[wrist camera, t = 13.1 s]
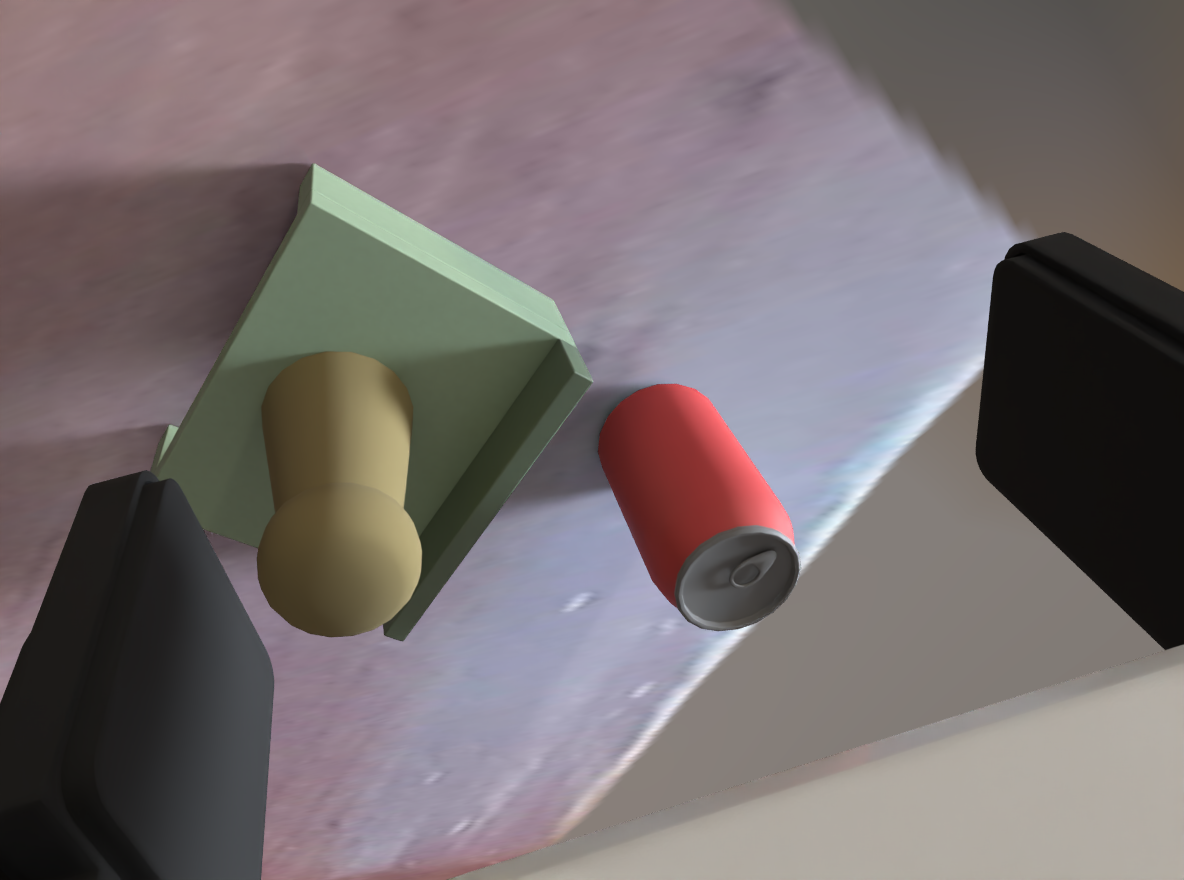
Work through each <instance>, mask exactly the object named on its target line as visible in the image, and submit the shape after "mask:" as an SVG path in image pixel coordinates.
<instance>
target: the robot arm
mask: <svg viewBox="0 0 1184 880" xmlns="http://www.w3.org/2000/svg"><path fill="white" fill-rule="evenodd" d="M976 458H977V462H978V465H979V468H980V470H981V472H982V473H983V475H984V476H985V478H986V479H987V480H988V481H989V482H990V483H991V484H992V485H993V486H994V487H995V488H996V489H997V490H998V491H999V492H1001V493H1002V494H1003V495H1004V496H1005V497H1006V498H1007V499H1008V500H1009V501H1010V502H1011V503H1012V504H1013V505H1014V506H1015V507H1016V508H1017V509H1018V510H1019V511H1020V512H1022V513H1023V514H1024V515H1025V516H1026V517H1027V518H1028V519H1029V520H1030V521H1031V522H1032V523H1033V524H1034V525H1035V526H1036V527H1037V528H1038V529H1039V530H1040V531H1041V532H1043V534H1044V535H1045V536H1047V537H1048V538H1049V539H1050V540H1051V541H1052V542H1053V543H1054V544H1055V545H1056V546H1057V547H1058V548H1059V549H1060V550H1061V551H1062V552H1063V553H1064V554H1065V555H1066V556H1067V557H1069V559H1071V560H1072V561H1073V562H1074V563H1075V564H1076V565H1077V566H1078V567H1079V568H1080V569H1081V570H1082V571H1083V572H1084V573H1086V575H1087V576H1088V577H1089V578H1090V579H1092V581H1094V582H1095V583H1096V584H1097V585H1098V586H1099V587H1100V588H1101V589H1102V590H1103V591H1104V592H1105V593H1106V594H1107V595H1108V596H1109V597H1110V598H1111V599H1112V600H1113V601H1114V602H1115V603H1117V604H1118V605H1119V606H1120V607H1121V608H1122V609H1123V610H1124V611H1125V612H1126V613H1127V614H1128V615H1129V616H1130V617H1131V618H1132V619H1133V620H1134V621H1135V622H1136V623H1137V624H1138V625H1140V626H1141V627H1142V628H1143V629H1144V630H1145V631H1146V632H1147V633H1148V634H1149V635H1150V636H1151V637H1152V638H1153V639H1154V640H1155V641H1156V642H1157V643H1158V644H1159V645H1160V646H1161V647H1163V648H1164V649H1165V650H1164V651H1161V652H1158V653H1155V654H1152V655H1148V656H1145V657H1142V658H1139V659H1136V660H1133V661H1129V662H1126V663H1123V664H1120V665H1116V666H1113V667H1110V668H1107V669H1104V670H1100V671H1097V672H1094V673H1091V674H1088V675H1085V676H1081V677H1078V678H1075V679H1072V680H1068V681H1065V682H1062V683H1059V684H1056V685H1053V686H1049V687H1046V688H1043V689H1040V690H1036V691H1034V692H1030V693H1027V694H1024V695H1021V696H1018V697H1014V698H1011V699H1008V700H1005V701H1002V702H999V703H995V704H992V705H989V706H986V707H983V708H980V709H977V710H973V711H970V712H967V713H964V714H961V715H957V716H954V717H951V718H948V719H945V720H942V721H939V722H936V723H932V724H929V725H926V726H923V727H920V728H917V729H913V730H910V731H907V732H904V733H901V734H898V735H894V736H891V737H888V738H885V739H882V740H879V741H876V742H872V743H869V744H866V745H863V746H860V747H857V748H854V749H851V750H847V751H845V752H841V753H838V754H835V755H832V756H829V757H825V758H822V759H819V760H816V761H813V762H810V763H807V764H804V765H800V766H797V767H794V768H791V769H788V770H785V771H782V772H778V773H775V774H772V775H769V776H766V777H763V778H760V779H757V780H753V781H750V782H747V783H744V784H741V785H738V786H735V787H731V788H728V789H725V790H722V791H719V792H716V793H713V794H710V795H707V796H703V797H700V798H698V799H694V800H691V801H688V802H685V803H682V804H679V805H676V806H673V807H670V808H666V809H664V810H660V811H657V812H654V813H651V814H648V815H645V816H642V817H639V818H636V819H632V820H630V821H627V822H623V823H621V824H617V825H614V826H611V827H608V828H605V829H602V830H599V831H595V832H593V833H590V834H586V835H584V836H580V837H577V838H574V839H571V840H568V841H565V842H562V843H558V844H555V845H552V846H549V847H546V848H543V849H540V850H537V851H534V852H531V853H528V854H525V855H521V856H518V857H515V858H512V859H509V860H506V861H503V862H500V863H497V864H494V865H491V866H487V867H484V868H481V869H478V870H475V871H472V872H469V873H466V874H463V875H460V876H457V877H454V878H450V879H447V880H1184V292H1183V291H1181V290H1179V289H1177V288H1175V287H1173V286H1171V285H1169V284H1167V283H1166V282H1164V281H1162V280H1160V279H1158V278H1156V277H1154V276H1152V275H1150V274H1148V273H1146V272H1144V271H1142V270H1140V269H1138V268H1136V267H1134V266H1133V265H1131V264H1128V263H1127V262H1125V261H1123V260H1121V259H1119V258H1117V257H1115V256H1113V255H1111V254H1109V253H1107V252H1105V251H1103V250H1101V249H1100V248H1097V247H1096V246H1094V245H1092V244H1090V243H1088V242H1086V241H1084V240H1082V239H1080V238H1078V237H1076V236H1074V235H1072V234H1069V233H1066V232H1062V233H1057V234H1053V235H1049V236H1045V237H1042V238H1038V239H1034V240H1030V241H1026V242H1022V243H1018V244H1015V245H1014V246H1012V247H1011V248H1010V249H1009V250H1008V252H1007V254H1006V256H1005V259H1004V260H1002V261H1001V262H1000V263H998V264H997V266H996V268H995V270H994V275H993V282H992V292H991V302H990V312H989V322H988V332H987V341H986V351H985V361H984V371H983V381H982V391H981V402H980V411H979V420H978V430H977V440H976ZM273 695H274V676H273V669H272V665H271V661H270V658H269V655H268V653H267V651H266V649H265V647H264V645H263V643H262V641H261V639H260V637H259V635H258V633H257V632H256V630H255V628H254V626H253V624H252V622H251V620H250V618H249V616H248V614H247V612H246V611H245V609H244V607H243V605H242V603H241V601H240V599H239V597H238V595H237V593H236V592H235V590H234V588H233V586H232V584H231V582H230V580H229V578H228V576H227V574H226V573H225V571H224V569H223V567H222V565H221V563H220V561H219V559H218V557H217V555H216V553H215V552H214V550H213V548H212V546H211V544H210V542H209V540H208V538H207V536H206V534H205V533H204V531H203V529H202V527H201V525H200V523H199V521H198V519H197V517H196V515H195V514H194V512H193V510H192V508H191V506H190V504H189V502H188V500H187V498H186V496H185V494H184V493H183V491H182V489H181V487H180V486H179V484H178V483H177V482H176V481H175V480H174V479H171V478H169V479H165V480H161V481H159V480H158V478H157V477H156V476H155V475H154V474H153V473H152V472H150V471H147V470H145V471H141V472H137V473H134V474H130V475H126V476H122V477H118V478H114V479H110V480H107V481H103V482H99V483H95V484H92V485H89V486H88V488H87V489H86V491H85V493H84V496H83V498H82V501H81V503H80V506H79V509H78V511H77V514H76V516H75V519H74V522H73V524H72V527H71V529H70V532H69V535H68V537H67V540H66V542H65V545H64V548H63V550H62V553H61V555H60V558H59V561H58V563H57V566H56V568H55V571H54V574H53V576H52V579H51V581H50V584H49V587H48V589H47V592H46V594H45V597H44V600H43V602H42V605H41V607H40V610H39V613H38V615H37V618H36V620H35V623H34V626H33V628H32V631H31V633H30V634H29V636H28V638H27V639H26V641H25V643H24V645H23V646H22V649H21V651H20V654H19V657H18V659H17V662H16V664H15V667H14V670H13V672H12V675H11V677H10V680H9V682H8V685H7V688H6V690H5V693H4V695H3V698H2V700H1V703H0V880H261V871H262V856H263V842H264V827H265V812H266V798H267V783H268V768H269V754H270V739H271V724H272V709H273Z"/></svg>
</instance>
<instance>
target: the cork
mask: <svg viewBox="0 0 1184 880" xmlns="http://www.w3.org/2000/svg"><path fill="white" fill-rule="evenodd" d="M261 411H262V428H263V435H264V442H265V448H266V455H267V462H268V469H269V475H270V482H271V489H272V496H273V502H274V509H275V514H274V515H273V516H272V517H271V519H270V521H269V523H268V524H267V526H266V528H265V531H264V533H263V536H262V539H261V541H260V544H259V547H258V554H257V569H258V580H259V583H260V587H261V590H262V592H263V594H264V595H265V597H266V599H267V601H268V603H269V605H270V607H271V608H272V609H274V610H275V611H276V612H277V613H278V614H279V615H280V616H281V617H283V618H284V619H285V620H286V621H287V622H288V623H289V624H290V625H292V626H294V627H296V628H298V629H301V630H303V631H305V632H307V633H309V634H315V635H320V636H326V637H343V636H354V635H357V634H361V633H364V632H368V631H371V630H374V629H376V628H377V627H379V626H381V625H382V624H384V623H386V622H388V621H389V620H391V619H392V618H393V617H394V616H395V615H396V614H397V613H398V612H399V611H400V610H401V609H402V607H403V606H404V605H405V604H406V603H407V602H408V601H409V600H410V599H411V596H412V594H413V592H414V590H415V588H416V586H417V584H418V581H419V578H420V574H421V563H422V548H421V542H420V539H419V536H418V533H417V531H416V528H415V525H414V523H413V521H412V519H411V518H410V516H409V515H408V513H407V512H406V511H405V510H404V500H405V491H406V482H407V473H408V464H409V454H410V445H411V436H412V427H413V405H412V402H411V399H410V396H409V393H408V390H407V388H406V386H405V385H404V384H403V383H402V381H401V380H400V379H399V378H398V376H397V375H396V374H395V372H394V371H392V370H391V369H389V368H388V367H386V366H385V365H383V364H382V363H380V362H379V361H377V360H376V359H373V358H370V357H367V356H363V355H360V354H357V353H354V352H335V351H326V352H322V353H318V354H314V355H310V356H307V357H303V358H301V359H299V360H298V361H296V362H294V363H293V364H291V365H290V366H288V367H286V368H285V369H283V370H282V371H281V372H280V373H279V374H278V376H277V377H276V378H275V379H274V380H273V382H272V383H271V384H270V385H269V386H268V389H267V392H266V394H265V397H264V400H263V403H262V406H261Z"/></svg>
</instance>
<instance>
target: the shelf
mask: <svg viewBox="0 0 1184 880" xmlns="http://www.w3.org/2000/svg"><path fill="white" fill-rule="evenodd" d="M326 351H335V352H354V353H357V354H360V355H363V356H367V357H370V358H373V359H376V360H377V361H379V362H380V363H382V364H383V365H385V366H386V367H388V368H389V369H391V370H392V371H394V372H395V374H396V375H397V376H398V378H399V379H400V380H401V381H402V383H403V384H404V385H405V386H406V388H407V390H408V393H409V396H410V399H411V402H412V405H413V427H412V436H411V445H410V454H409V464H408V473H407V482H406V491H405V500H404V510H405V511H406V512H407V513H408V515H409V516H410V518H411V519H412V521H413V523H414V525H415V528H416V531H417V533H418V536H419V539H420V542H421V548H422V563H421V574H420V578H419V581H418V584H417V586H416V588H415V590H414V592H413V594H412V596H411V599H410V600H409V601H408V602H407V603H406V604H405V605H404V606H403V607H402V609H401V610H400V611H399V612H398V613H397V614H396V615H395V616H394V617H393V618H392V619H391V620H389V621H388V622H386V623H384V624H383V629H384V635H385V636H387V637H390V638H393V639H396V640H399V641H404V640H405V638H406V637H407V635H408V634H409V633H410V631H411V630H412V629H413V627H414V626H415V624H416V623H417V622H418V620H419V619H420V618H421V616H422V615H423V614H424V612H425V611H426V609H427V608H428V607H429V605H430V604H431V603H432V601H433V600H434V599H435V597H436V596H437V594H438V593H439V592H440V590H441V589H442V588H443V586H444V585H445V584H446V582H447V581H448V579H449V578H450V577H451V575H452V574H453V573H454V571H455V570H456V569H457V567H458V566H459V564H460V563H461V562H462V560H463V559H464V558H465V556H466V555H467V553H468V552H469V551H470V549H471V548H472V547H473V545H474V544H475V543H476V541H477V540H478V538H479V537H480V536H481V534H482V533H483V532H484V530H485V529H486V528H487V526H488V525H489V523H490V522H491V521H492V519H493V518H494V517H495V515H496V514H497V513H498V511H499V510H500V508H501V507H502V506H503V504H504V503H505V502H506V500H507V499H508V498H509V496H510V495H511V493H512V492H513V491H514V489H515V488H516V487H517V485H518V484H519V482H520V481H521V480H522V478H523V477H524V476H525V474H526V473H527V472H528V470H529V469H530V467H531V466H532V465H533V463H534V462H535V461H536V459H537V458H538V457H539V455H540V454H541V452H542V451H543V450H544V448H545V447H546V446H547V444H548V443H549V442H550V440H551V439H552V437H553V436H554V435H555V433H556V432H557V431H558V429H559V428H560V427H561V425H562V424H563V422H564V421H565V420H566V418H567V417H568V416H569V414H570V413H571V411H572V410H573V409H574V407H575V406H576V405H577V403H578V402H579V401H580V399H581V398H582V396H583V395H584V394H585V392H586V391H587V390H588V388H589V387H590V386H591V384H592V383H593V380H592V377H591V375H590V373H589V371H588V369H587V367H586V365H585V363H584V361H583V359H582V357H581V355H580V353H579V351H578V349H577V348H576V345H575V343H574V341H573V339H572V337H571V335H570V333H569V331H568V329H567V327H566V325H565V323H564V321H563V319H562V317H561V315H560V313H559V311H558V309H557V307H556V305H555V303H554V301H553V300H552V299H551V298H549V297H547V296H545V295H544V294H542V293H540V292H538V291H537V290H535V289H533V288H531V287H530V286H528V285H526V284H524V283H522V282H521V281H519V280H517V279H515V278H514V277H512V276H510V275H508V274H507V273H505V272H503V271H501V270H500V269H498V268H496V267H494V266H493V265H491V264H489V263H487V262H486V261H484V260H482V259H480V258H479V257H477V256H475V255H473V254H472V253H470V252H468V251H466V250H465V249H463V248H461V247H459V246H458V245H456V244H454V243H452V242H451V241H449V240H447V239H445V238H444V237H442V236H440V235H438V234H437V233H435V232H433V231H431V230H430V229H428V228H426V227H424V226H423V225H421V224H419V223H417V222H416V221H414V220H412V219H410V218H409V217H407V216H405V215H403V214H402V213H400V212H398V211H396V210H395V209H393V208H391V207H389V206H388V205H386V204H384V203H382V202H381V201H379V200H377V199H375V198H374V197H372V196H370V195H368V194H367V193H365V192H363V191H361V190H360V189H358V188H356V187H354V186H353V185H351V184H349V183H347V182H346V181H344V180H342V179H340V178H339V177H337V176H335V175H333V174H332V173H330V172H328V171H326V170H325V169H323V168H321V167H319V166H318V165H316V164H312V165H311V167H310V169H309V170H308V172H307V174H306V176H305V178H304V180H303V181H302V183H301V185H300V189H299V200H298V211H297V216H296V217H295V219H294V221H293V223H292V225H291V226H290V228H289V230H288V232H287V234H286V235H285V237H284V239H283V241H282V243H281V244H280V246H279V248H278V250H277V252H276V253H275V255H274V257H273V259H272V261H271V262H270V264H269V266H268V268H267V270H266V271H265V273H264V275H263V277H262V279H261V280H260V282H259V284H258V286H257V288H256V289H255V291H254V293H253V295H252V297H251V299H250V300H249V302H248V304H247V306H246V308H245V309H244V311H243V313H242V315H241V317H240V318H239V320H238V322H237V324H236V326H235V327H234V329H233V331H232V333H231V335H230V336H229V338H228V340H227V342H226V344H225V345H224V347H223V349H222V351H221V353H220V354H219V356H218V358H217V360H216V362H215V363H214V365H213V367H212V369H211V371H210V372H209V374H208V376H207V378H206V380H205V381H204V383H203V385H202V387H201V389H200V390H199V392H198V394H197V396H196V398H195V399H194V401H193V403H192V405H191V407H190V408H189V410H188V412H187V414H186V416H185V417H184V419H183V421H182V423H181V425H180V426H179V428H178V427H175V426H173V425H170V424H169V425H168V427H167V429H166V431H165V432H164V434H163V436H162V438H161V440H160V442H159V443H158V447H157V450H156V454H155V457H154V460H153V464H152V467H151V471H150V472H152V473H153V474H154V475H155V476H156V477H157V478H158V480H159V481H161V480H165V479H169V478H171V479H174V480H175V481H176V482H177V483H178V484H179V486H180V487H181V489H182V491H183V493H184V494H185V496H186V498H187V500H188V502H189V504H190V506H191V508H192V510H193V512H194V514H195V515H196V517H197V519H198V521H199V523H200V525H201V527H202V529H204V530H207V531H210V532H213V533H215V534H218V535H221V536H224V537H227V538H230V539H233V540H236V541H239V542H242V543H244V544H247V545H250V546H253V547H256V548H258V547H259V544H260V541H261V539H262V536H263V533H264V531H265V528H266V526H267V524H268V523H269V521H270V519H271V517H272V516H273V515H274V514H275V509H274V502H273V496H272V489H271V482H270V475H269V469H268V462H267V455H266V448H265V442H264V435H263V428H262V411H261V406H262V403H263V400H264V397H265V394H266V392H267V389H268V386H269V385H270V384H271V383H272V382H273V380H274V379H275V378H276V377H277V376H278V374H279V373H280V372H281V371H282V370H283V369H285V368H286V367H288V366H290V365H291V364H293V363H294V362H296V361H298V360H299V359H301V358H303V357H307V356H310V355H314V354H318V353H322V352H326Z"/></svg>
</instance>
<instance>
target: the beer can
mask: <svg viewBox="0 0 1184 880" xmlns="http://www.w3.org/2000/svg"><path fill="white" fill-rule="evenodd" d="M598 454H599V457H600V461H601V465H602V468H603V470H604V473H605V475H606V477H607V479H608V482H609V484H610V486H611V488H612V491H613V493H614V495H615V497H616V500H617V502H618V504H619V507H620V509H621V511H622V513H623V516H624V518H625V520H626V522H627V525H628V527H629V529H630V531H631V534H632V536H633V538H634V540H635V543H636V545H637V547H638V550H639V552H640V554H641V556H642V559H643V561H644V563H645V565H646V568H647V570H648V572H649V574H650V577H651V579H652V581H653V582H654V584H655V585H656V586H657V587H658V589H659V590H660V591H661V592H662V594H663V595H664V596H665V597H666V598H667V600H668V601H669V602H670V603H671V604H672V605H674V606H675V607H676V608H678V610H679V611H680V612H681V614H682V615H683V616H684V617H685V619H686V620H687V621H688V622H690V623H692V624H694V625H696V626H697V627H699V628H701V629H707V630H714V631H725V630H735V629H740V628H743V627H746V626H749V625H751V624H754V623H757V622H758V621H760V620H762V619H763V618H765V617H767V616H768V615H770V614H772V613H773V612H774V611H775V610H776V609H777V608H778V607H779V606H780V605H781V604H782V603H784V602H785V601H786V599H787V598H788V597H789V595H790V594H791V592H792V590H793V589H794V587H795V586H796V584H797V581H798V577H799V574H800V570H801V563H800V555H799V552H798V550H797V548H796V547H795V544H794V536H793V528H792V525H791V522H790V518H789V516H788V514H787V513H786V511H785V509H784V508H783V506H782V505H781V503H780V501H779V500H778V499H777V497H776V496H775V494H774V493H773V491H772V490H771V488H770V487H769V485H768V484H767V483H766V481H765V480H764V478H763V477H762V475H761V474H760V472H759V471H758V470H757V468H756V467H755V465H754V464H753V462H752V461H751V459H750V458H749V457H748V455H747V454H746V452H745V451H744V449H743V448H742V446H741V445H740V444H739V442H738V441H737V439H736V438H735V436H734V435H733V433H732V432H731V431H730V429H729V428H728V426H727V425H726V423H725V422H724V420H723V419H722V417H721V416H720V415H719V413H718V412H717V410H716V409H715V407H714V406H713V404H712V403H711V402H710V400H709V399H708V398H707V397H705V396H704V395H703V394H701V393H700V392H698V391H697V390H696V389H693V388H689V387H686V386H682V385H679V384H657V385H654V386H651V387H647V388H644V389H641V390H638V391H637V392H635V393H633V394H632V395H630V396H629V397H627V398H626V399H624V400H623V401H621V402H620V403H619V404H618V406H617V407H616V408H615V409H614V410H613V411H612V412H611V413H610V414H609V416H608V417H607V420H606V422H605V424H604V426H603V428H602V430H601V432H600V437H599V446H598Z"/></svg>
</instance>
